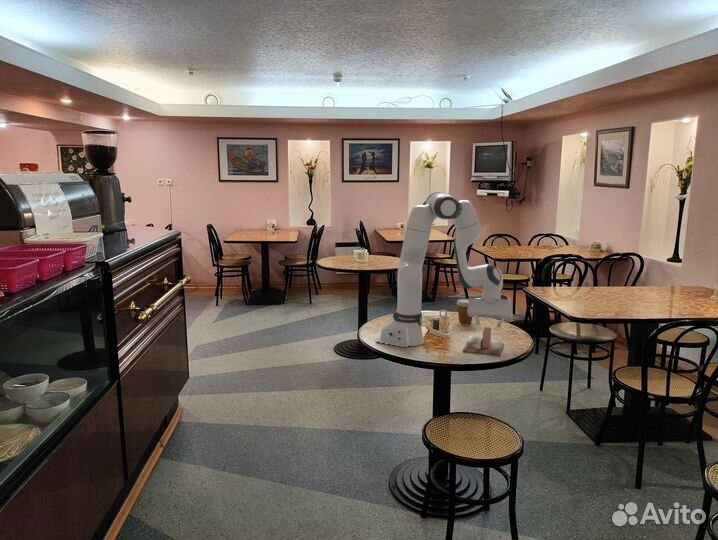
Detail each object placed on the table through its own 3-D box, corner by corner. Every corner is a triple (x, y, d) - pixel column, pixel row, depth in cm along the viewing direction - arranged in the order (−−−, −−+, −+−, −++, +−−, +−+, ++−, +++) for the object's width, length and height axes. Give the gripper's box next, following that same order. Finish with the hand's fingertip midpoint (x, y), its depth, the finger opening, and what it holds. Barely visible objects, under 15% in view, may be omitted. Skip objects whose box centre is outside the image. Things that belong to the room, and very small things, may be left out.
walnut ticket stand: (462, 352, 225) (463, 343, 224) (468, 341, 240) (468, 333, 239) (500, 356, 219) (500, 347, 219) (503, 345, 234) (503, 336, 233)
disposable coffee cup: (478, 324, 267) (479, 302, 264) (462, 326, 263) (463, 303, 261) (467, 319, 275) (468, 298, 273) (452, 321, 272) (453, 299, 270)
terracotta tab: (482, 347, 227) (483, 330, 226) (483, 344, 232) (484, 326, 230) (489, 348, 226) (490, 330, 225) (490, 344, 231) (491, 327, 229)
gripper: (468, 294, 240) (464, 319, 233) (513, 297, 233) (511, 323, 226) (469, 301, 245) (465, 326, 238) (513, 304, 238) (511, 330, 231)
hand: (488, 325), depth 232 cm, fingers open, 8 cm apart
